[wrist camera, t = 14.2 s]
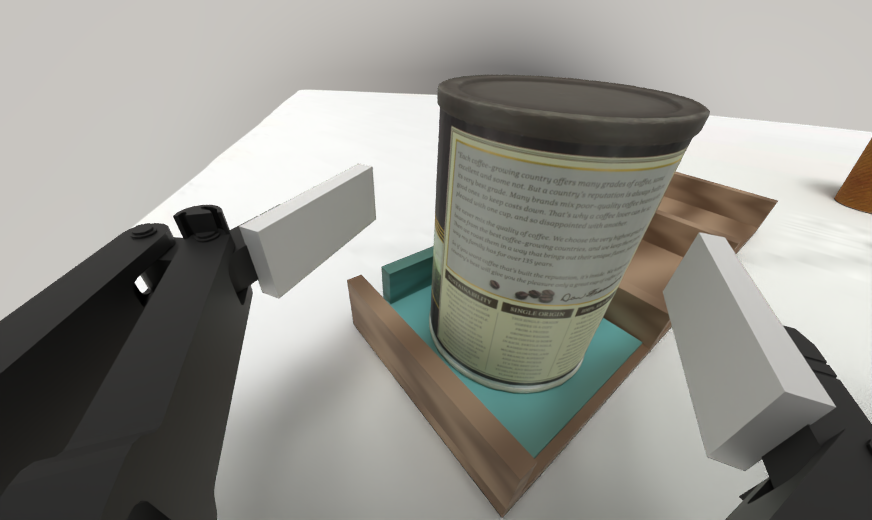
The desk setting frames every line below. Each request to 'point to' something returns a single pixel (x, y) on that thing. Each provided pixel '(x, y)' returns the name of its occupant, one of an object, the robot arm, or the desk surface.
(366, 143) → the desk surface
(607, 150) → the coffee can
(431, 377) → the slot rack
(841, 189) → the disposable coffee cup
